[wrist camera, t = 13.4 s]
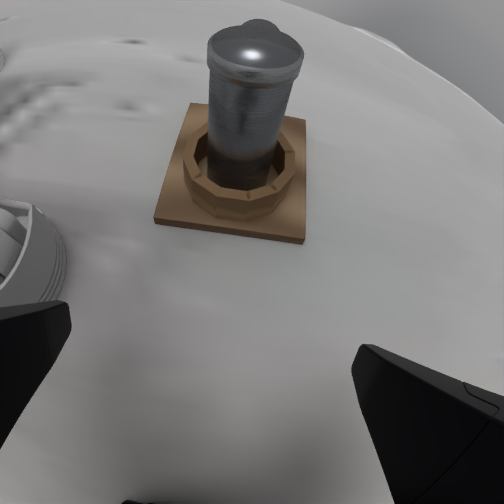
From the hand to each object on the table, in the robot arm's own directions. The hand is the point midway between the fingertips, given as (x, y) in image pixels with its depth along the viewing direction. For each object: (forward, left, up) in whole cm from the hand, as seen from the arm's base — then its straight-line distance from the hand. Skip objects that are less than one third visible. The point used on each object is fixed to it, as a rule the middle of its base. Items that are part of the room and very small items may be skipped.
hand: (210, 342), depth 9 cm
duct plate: (+18, 0, -14) cm, 22 cm away
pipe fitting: (+17, 0, -13) cm, 21 cm away
